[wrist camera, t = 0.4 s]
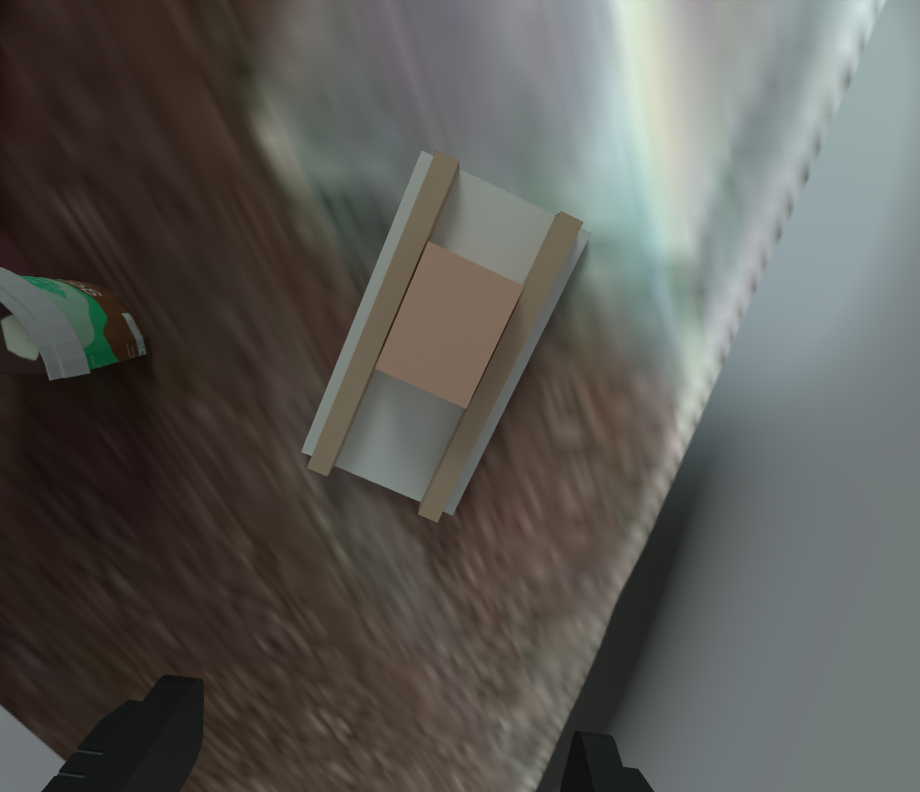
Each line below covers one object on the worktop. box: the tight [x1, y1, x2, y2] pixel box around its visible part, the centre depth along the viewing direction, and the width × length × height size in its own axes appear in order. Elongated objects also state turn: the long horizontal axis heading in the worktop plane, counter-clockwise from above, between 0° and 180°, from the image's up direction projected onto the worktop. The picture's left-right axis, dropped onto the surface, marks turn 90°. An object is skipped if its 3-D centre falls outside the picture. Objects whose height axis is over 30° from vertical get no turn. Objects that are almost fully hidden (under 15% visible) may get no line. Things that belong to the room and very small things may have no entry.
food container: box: [0, 267, 152, 380], centre depth 30 cm, size 12×6×10 cm, turn 90°
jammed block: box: [375, 241, 524, 409], centre depth 31 cm, size 8×6×4 cm
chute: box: [301, 150, 591, 523], centre depth 33 cm, size 22×12×3 cm, turn 156°
